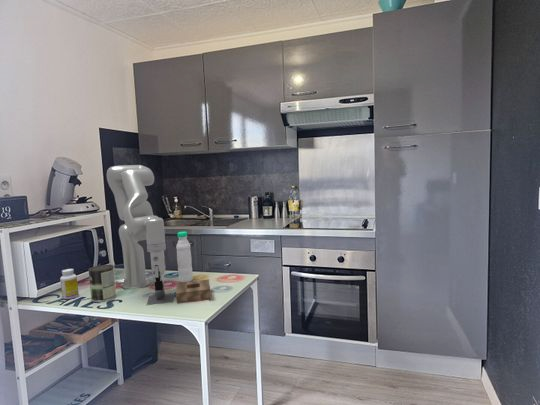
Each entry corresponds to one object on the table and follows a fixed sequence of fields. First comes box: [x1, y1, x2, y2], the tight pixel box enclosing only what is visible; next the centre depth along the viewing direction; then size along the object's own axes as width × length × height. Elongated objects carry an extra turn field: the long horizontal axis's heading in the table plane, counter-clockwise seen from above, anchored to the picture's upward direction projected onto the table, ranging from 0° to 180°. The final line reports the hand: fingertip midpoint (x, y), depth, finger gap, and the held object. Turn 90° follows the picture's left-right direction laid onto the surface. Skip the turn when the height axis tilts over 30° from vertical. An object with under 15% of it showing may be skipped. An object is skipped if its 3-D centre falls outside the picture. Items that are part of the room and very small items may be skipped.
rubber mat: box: [145, 292, 176, 306], centre depth 152 cm, size 11×11×1 cm
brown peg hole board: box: [175, 278, 212, 305], centre depth 154 cm, size 14×14×5 cm
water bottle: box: [175, 231, 194, 283], centre depth 177 cm, size 7×7×25 cm
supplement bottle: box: [59, 268, 80, 300], centre depth 162 cm, size 7×7×13 cm
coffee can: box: [87, 264, 117, 303], centre depth 159 cm, size 10×10×14 cm
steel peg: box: [153, 268, 166, 298], centre depth 152 cm, size 4×4×12 cm
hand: (159, 287), depth 152 cm, fingers closed on steel peg, 4 cm apart
